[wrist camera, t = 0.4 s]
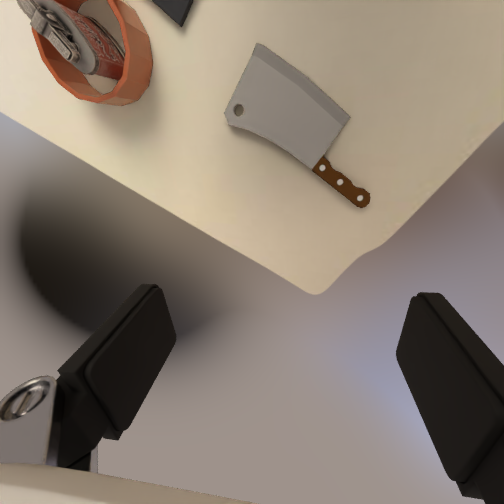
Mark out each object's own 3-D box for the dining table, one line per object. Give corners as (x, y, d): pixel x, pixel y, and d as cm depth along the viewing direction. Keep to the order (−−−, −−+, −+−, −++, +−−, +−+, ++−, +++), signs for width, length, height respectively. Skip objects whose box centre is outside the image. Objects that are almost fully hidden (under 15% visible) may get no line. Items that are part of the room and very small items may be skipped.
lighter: (78, 33, 31) (-5, -2, 22) (91, 10, 30) (7, -38, 21) (126, 90, 33) (66, 78, 25) (140, 71, 32) (82, 50, 23)
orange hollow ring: (80, -38, 28) (41, -69, 24) (167, 39, 30) (146, 25, 26) (57, 64, 33) (22, 55, 29) (133, 124, 35) (110, 123, 31)
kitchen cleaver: (408, 163, 31) (352, 221, 36) (405, 162, 32) (350, 219, 36) (259, 34, 28) (216, 115, 32) (260, 38, 29) (218, 116, 33)
